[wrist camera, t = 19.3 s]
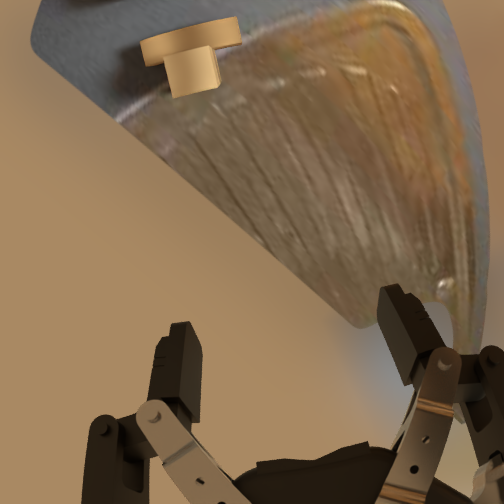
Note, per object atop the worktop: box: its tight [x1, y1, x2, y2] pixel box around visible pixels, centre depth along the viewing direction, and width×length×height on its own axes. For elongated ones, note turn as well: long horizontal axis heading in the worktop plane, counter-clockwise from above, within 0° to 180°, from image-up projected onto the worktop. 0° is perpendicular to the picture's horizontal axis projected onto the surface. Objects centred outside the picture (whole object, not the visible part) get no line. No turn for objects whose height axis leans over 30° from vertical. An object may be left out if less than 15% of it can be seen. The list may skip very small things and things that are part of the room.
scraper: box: [140, 17, 242, 98], centre depth 26 cm, size 10×7×9 cm
